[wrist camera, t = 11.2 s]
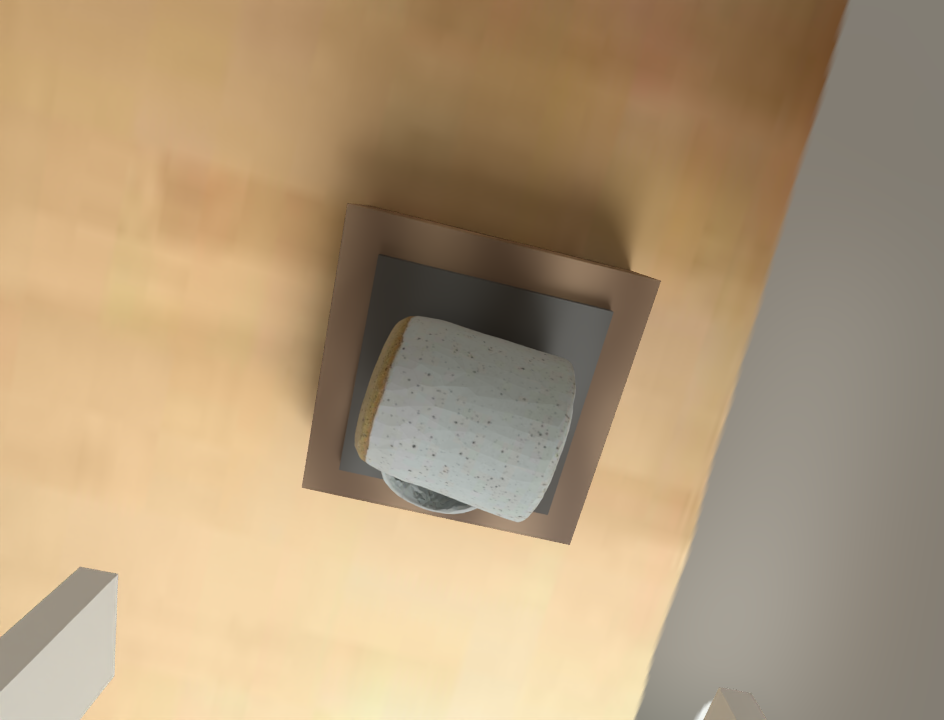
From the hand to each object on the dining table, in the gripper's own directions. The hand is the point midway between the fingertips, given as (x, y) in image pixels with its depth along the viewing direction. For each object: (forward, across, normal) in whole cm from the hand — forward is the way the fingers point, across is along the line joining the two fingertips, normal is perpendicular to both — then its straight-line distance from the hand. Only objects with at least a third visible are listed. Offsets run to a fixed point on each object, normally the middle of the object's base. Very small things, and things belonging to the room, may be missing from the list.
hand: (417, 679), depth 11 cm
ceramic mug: (+16, +1, 0) cm, 16 cm away
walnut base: (+22, +1, +1) cm, 22 cm away
